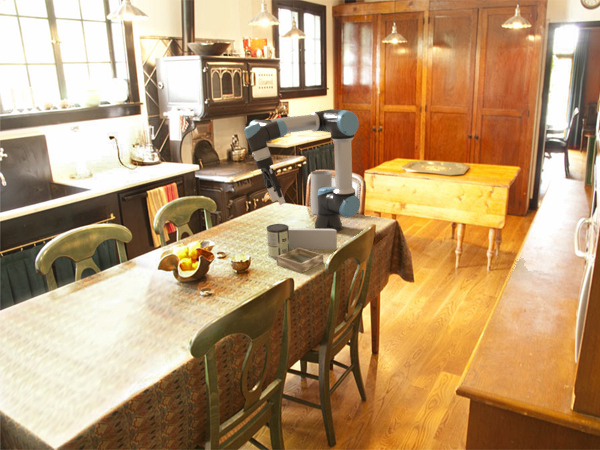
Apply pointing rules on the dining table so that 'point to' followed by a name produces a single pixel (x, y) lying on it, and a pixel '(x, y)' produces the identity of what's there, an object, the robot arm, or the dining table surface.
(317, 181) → the cylinder vase
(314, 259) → the square tray
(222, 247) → the dining table surface
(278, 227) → the coffee can
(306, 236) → the decorative sign
